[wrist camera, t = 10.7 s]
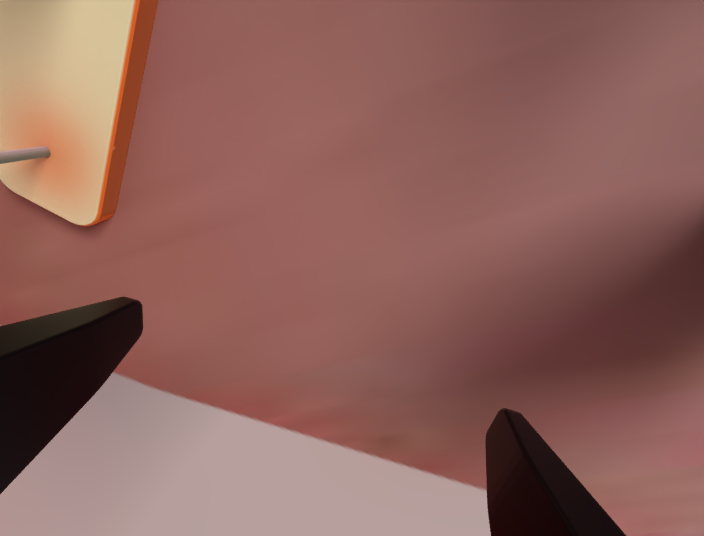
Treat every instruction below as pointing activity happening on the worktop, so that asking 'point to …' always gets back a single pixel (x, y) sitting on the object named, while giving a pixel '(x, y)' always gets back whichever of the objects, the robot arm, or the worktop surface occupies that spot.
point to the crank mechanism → (70, 100)
